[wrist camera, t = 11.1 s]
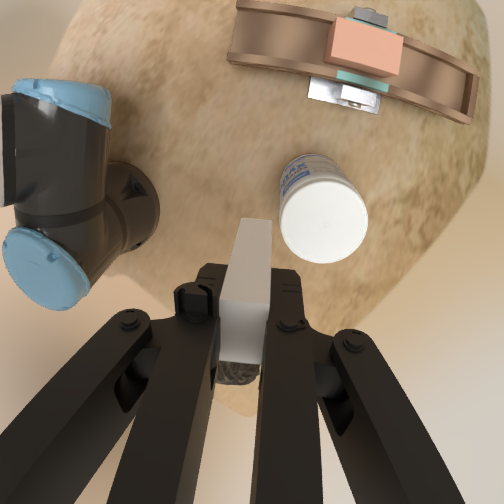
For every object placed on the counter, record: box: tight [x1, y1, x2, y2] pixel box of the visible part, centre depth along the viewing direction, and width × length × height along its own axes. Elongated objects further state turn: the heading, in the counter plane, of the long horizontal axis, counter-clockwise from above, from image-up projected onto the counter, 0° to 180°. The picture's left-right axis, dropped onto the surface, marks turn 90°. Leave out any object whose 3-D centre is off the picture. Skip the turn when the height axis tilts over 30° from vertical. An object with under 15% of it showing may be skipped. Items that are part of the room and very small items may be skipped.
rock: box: [216, 358, 260, 385], centre depth 56 cm, size 10×11×10 cm
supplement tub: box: [279, 154, 368, 263], centre depth 37 cm, size 10×10×15 cm
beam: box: [227, 0, 479, 125], centre depth 30 cm, size 30×8×8 cm, turn 82°
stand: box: [308, 6, 388, 115], centre depth 31 cm, size 10×13×8 cm
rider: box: [324, 17, 404, 78], centre depth 25 cm, size 7×4×6 cm, turn 82°
